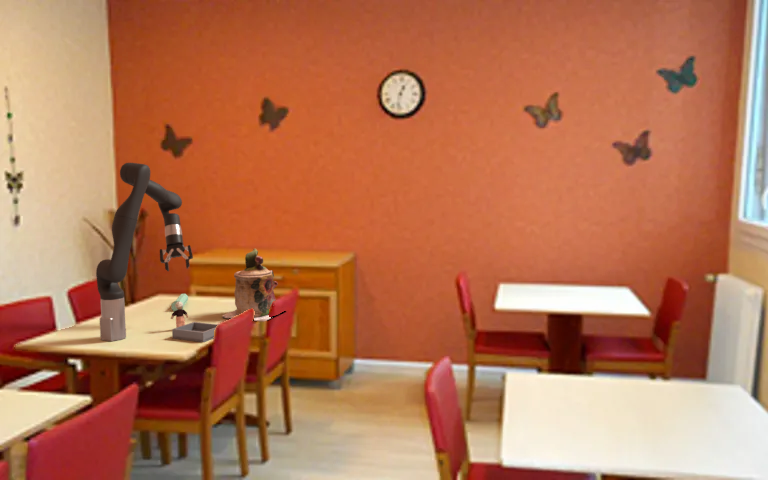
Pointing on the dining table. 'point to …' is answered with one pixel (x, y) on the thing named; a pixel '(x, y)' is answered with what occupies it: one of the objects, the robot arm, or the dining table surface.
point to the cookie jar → (254, 288)
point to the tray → (194, 332)
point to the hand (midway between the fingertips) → (177, 269)
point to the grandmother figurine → (179, 314)
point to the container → (181, 298)
